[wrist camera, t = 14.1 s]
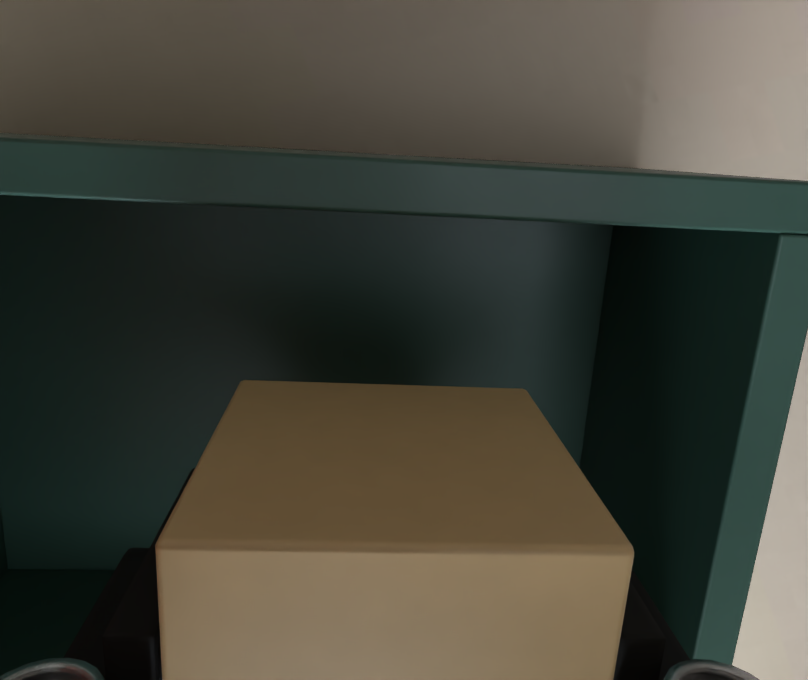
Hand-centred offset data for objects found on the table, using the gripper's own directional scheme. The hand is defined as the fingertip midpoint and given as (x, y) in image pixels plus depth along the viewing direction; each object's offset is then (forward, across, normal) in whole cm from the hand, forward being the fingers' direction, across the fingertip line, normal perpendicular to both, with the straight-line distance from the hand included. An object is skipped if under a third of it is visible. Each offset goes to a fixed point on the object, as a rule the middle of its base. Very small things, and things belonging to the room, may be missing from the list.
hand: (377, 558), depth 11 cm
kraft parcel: (0, 0, 0) cm, 0 cm away
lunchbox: (+8, +2, 0) cm, 8 cm away
